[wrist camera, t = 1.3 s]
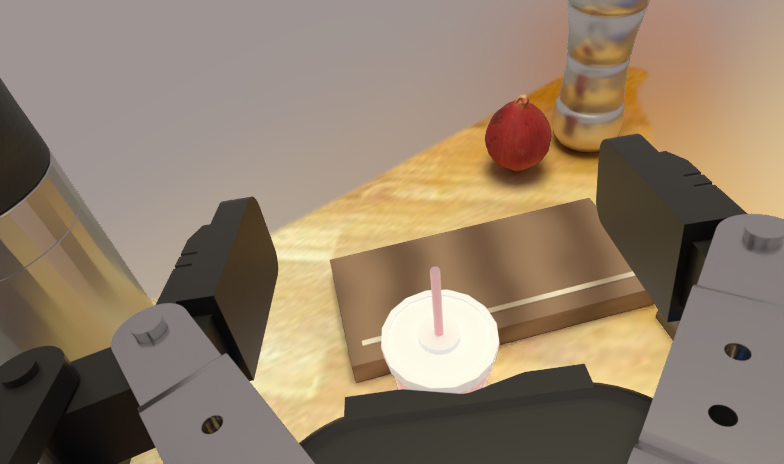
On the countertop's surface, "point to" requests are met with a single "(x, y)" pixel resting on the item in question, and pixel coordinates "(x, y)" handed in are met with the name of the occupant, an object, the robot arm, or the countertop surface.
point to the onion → (518, 135)
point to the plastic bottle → (596, 71)
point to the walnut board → (493, 278)
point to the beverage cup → (440, 341)
